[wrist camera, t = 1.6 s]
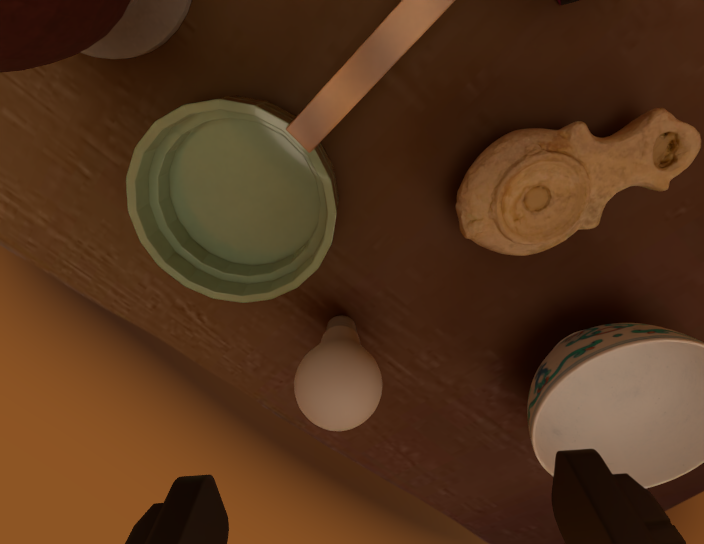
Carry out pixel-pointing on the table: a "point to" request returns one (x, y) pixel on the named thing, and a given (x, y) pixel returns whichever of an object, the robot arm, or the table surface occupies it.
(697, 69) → the table surface
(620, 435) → the chinaware
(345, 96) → the pan handle
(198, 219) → the pan
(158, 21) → the mate gourd
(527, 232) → the oil lamp
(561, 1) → the candy bar box
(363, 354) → the lightbulb
